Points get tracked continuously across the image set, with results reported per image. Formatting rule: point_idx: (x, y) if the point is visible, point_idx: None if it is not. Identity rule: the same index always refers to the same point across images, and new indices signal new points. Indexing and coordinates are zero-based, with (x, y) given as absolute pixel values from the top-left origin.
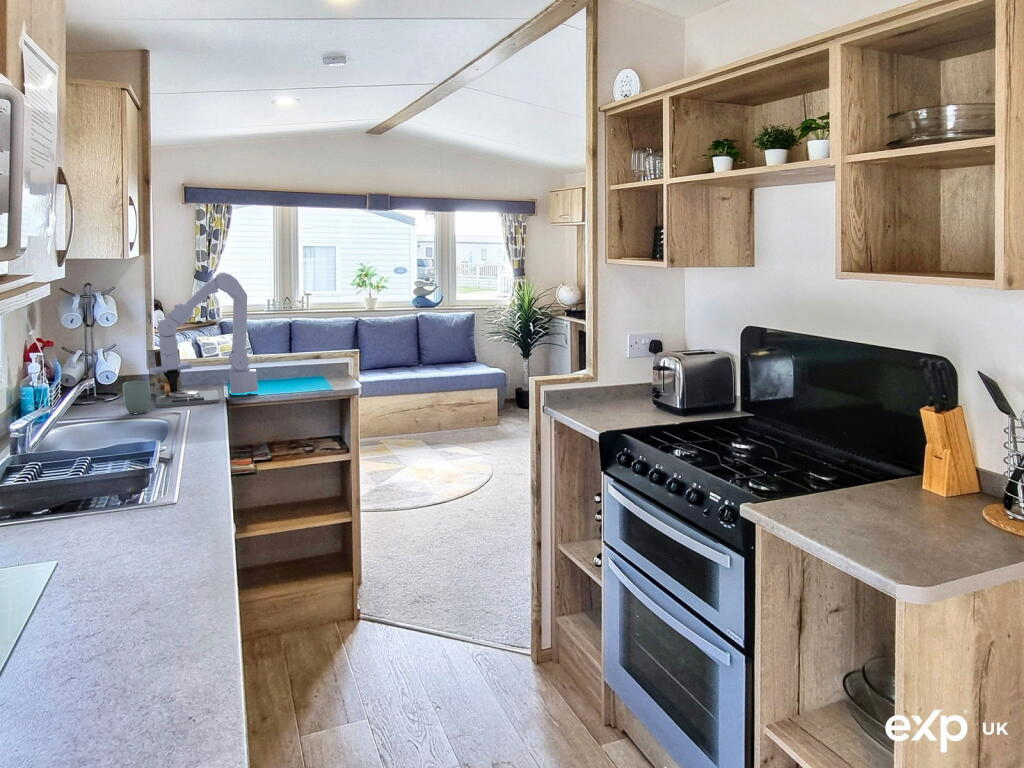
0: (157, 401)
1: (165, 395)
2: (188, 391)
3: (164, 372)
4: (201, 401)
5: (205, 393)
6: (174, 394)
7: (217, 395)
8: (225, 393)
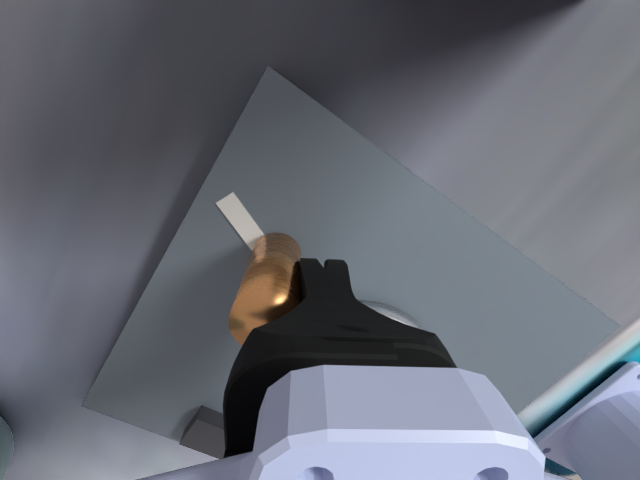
0: (126, 342)
1: (252, 250)
2: None
3: (226, 421)
4: None
5: (487, 363)
6: None
7: None
8: (605, 352)
